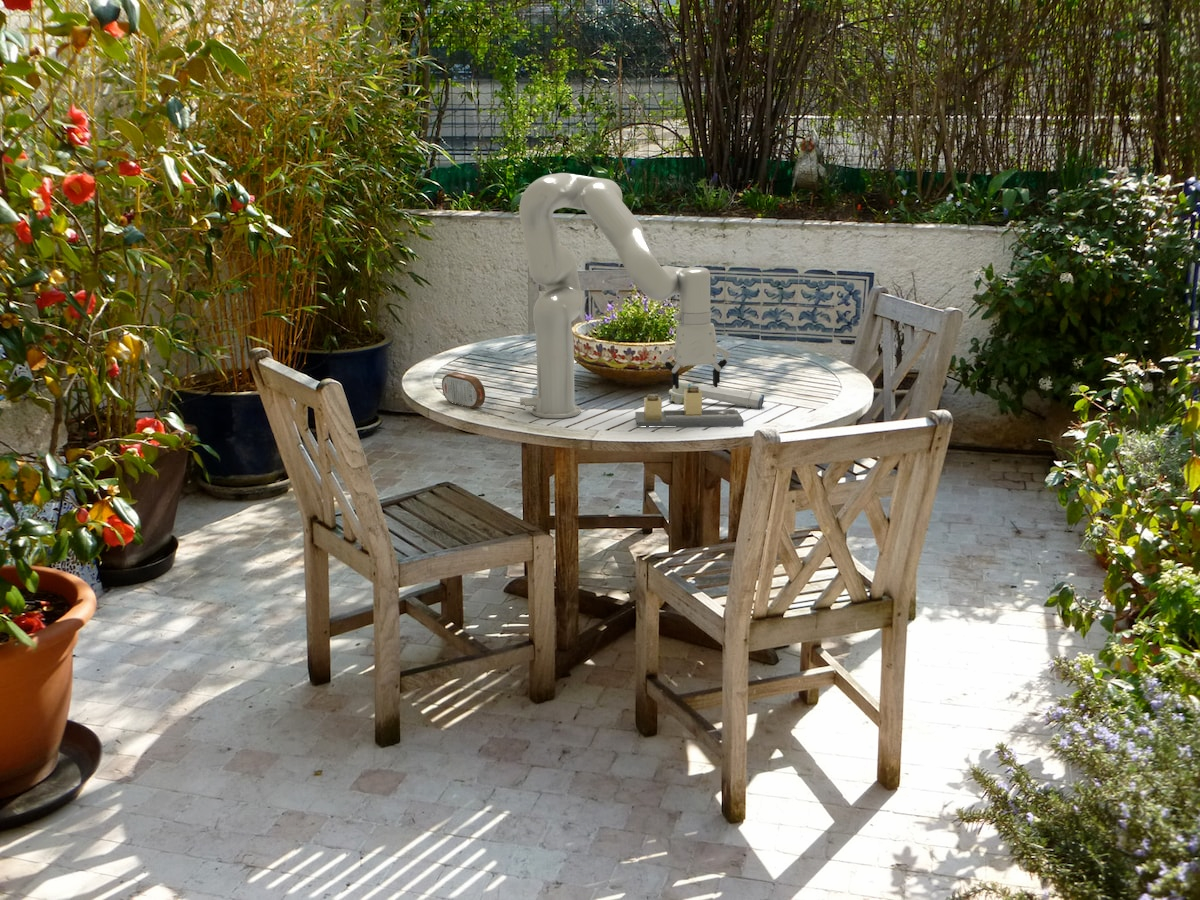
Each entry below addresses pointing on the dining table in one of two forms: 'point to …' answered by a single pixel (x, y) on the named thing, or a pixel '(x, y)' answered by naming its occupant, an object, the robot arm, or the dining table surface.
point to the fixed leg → (652, 407)
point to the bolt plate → (693, 418)
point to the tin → (463, 389)
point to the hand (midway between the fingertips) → (695, 386)
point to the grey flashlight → (719, 395)
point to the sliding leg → (692, 401)
